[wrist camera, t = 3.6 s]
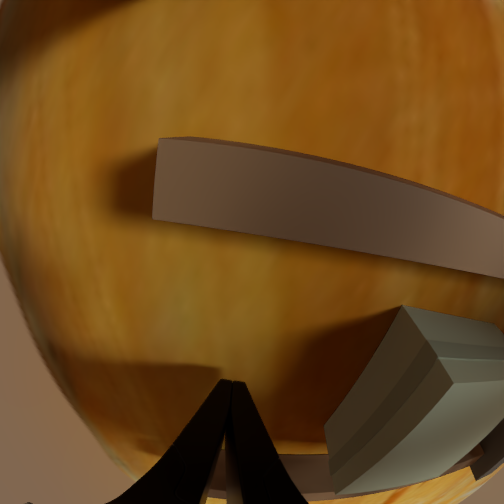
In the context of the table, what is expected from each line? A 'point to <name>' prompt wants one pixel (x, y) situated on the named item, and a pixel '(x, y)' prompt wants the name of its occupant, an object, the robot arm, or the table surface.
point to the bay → (327, 237)
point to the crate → (417, 402)
